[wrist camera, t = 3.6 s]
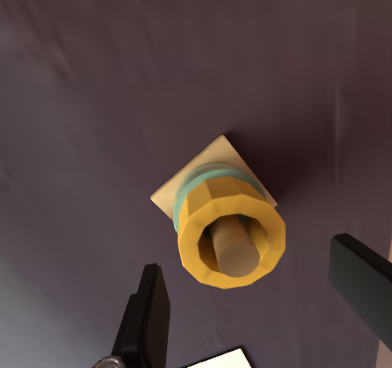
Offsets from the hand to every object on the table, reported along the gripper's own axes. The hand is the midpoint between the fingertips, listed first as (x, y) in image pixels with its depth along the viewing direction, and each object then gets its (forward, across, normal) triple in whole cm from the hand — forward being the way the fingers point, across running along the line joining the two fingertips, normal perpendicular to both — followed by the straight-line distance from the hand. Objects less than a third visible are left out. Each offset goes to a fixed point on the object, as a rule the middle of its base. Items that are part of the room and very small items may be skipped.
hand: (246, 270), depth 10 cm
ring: (+6, 0, 0) cm, 6 cm away
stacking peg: (+10, 0, 0) cm, 10 cm away
